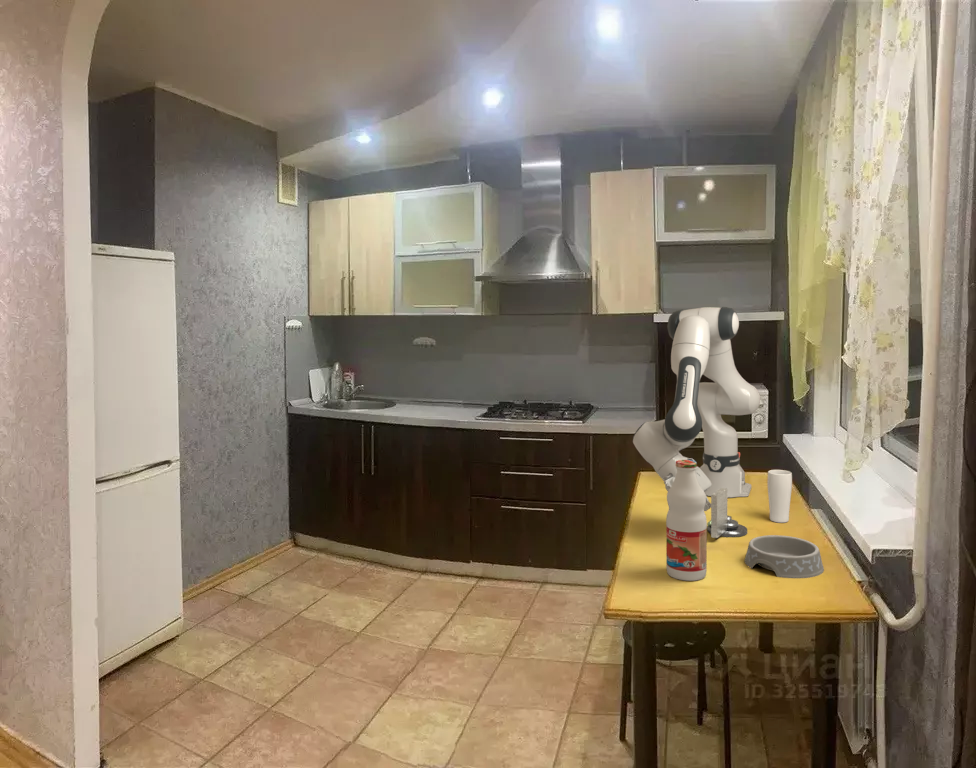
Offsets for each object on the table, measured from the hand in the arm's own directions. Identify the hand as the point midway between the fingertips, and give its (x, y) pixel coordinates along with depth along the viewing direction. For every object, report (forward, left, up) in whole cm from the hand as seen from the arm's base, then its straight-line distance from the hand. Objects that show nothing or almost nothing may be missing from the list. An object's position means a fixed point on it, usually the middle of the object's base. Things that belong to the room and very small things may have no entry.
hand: (709, 508), depth 190 cm
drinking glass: (-27, +12, -9) cm, 30 cm away
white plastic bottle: (+29, +4, -9) cm, 31 cm away
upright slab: (-4, +2, -7) cm, 9 cm away
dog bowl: (+10, +22, -9) cm, 26 cm away
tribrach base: (-9, +2, -8) cm, 12 cm away
